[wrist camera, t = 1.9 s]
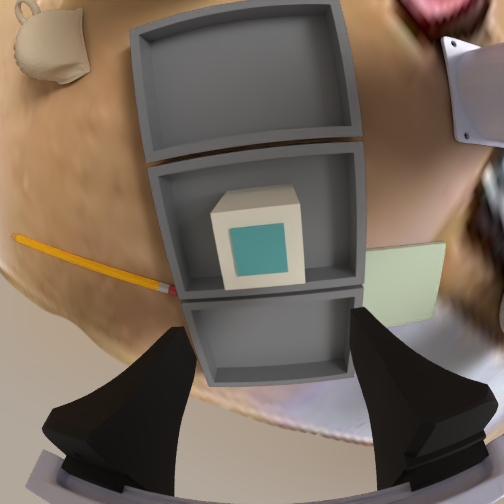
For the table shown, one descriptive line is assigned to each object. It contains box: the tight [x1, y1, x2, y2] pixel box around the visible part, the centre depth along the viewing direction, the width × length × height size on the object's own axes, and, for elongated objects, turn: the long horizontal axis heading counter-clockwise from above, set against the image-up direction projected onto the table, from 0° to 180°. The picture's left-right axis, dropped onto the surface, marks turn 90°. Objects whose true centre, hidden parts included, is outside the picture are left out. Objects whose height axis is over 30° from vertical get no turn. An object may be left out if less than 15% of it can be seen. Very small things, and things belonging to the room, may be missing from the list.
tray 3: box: [180, 284, 364, 387], centre depth 21 cm, size 12×9×2 cm
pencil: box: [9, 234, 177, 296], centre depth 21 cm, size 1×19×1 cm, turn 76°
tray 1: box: [129, 0, 363, 163], centre depth 14 cm, size 12×9×2 cm
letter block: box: [210, 184, 305, 290], centre depth 15 cm, size 4×4×5 cm
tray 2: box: [147, 140, 366, 300], centre depth 17 cm, size 12×9×2 cm
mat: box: [362, 241, 446, 327], centre depth 19 cm, size 7×7×1 cm
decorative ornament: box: [14, 0, 91, 85], centre depth 11 cm, size 4×8×5 cm, turn 12°
